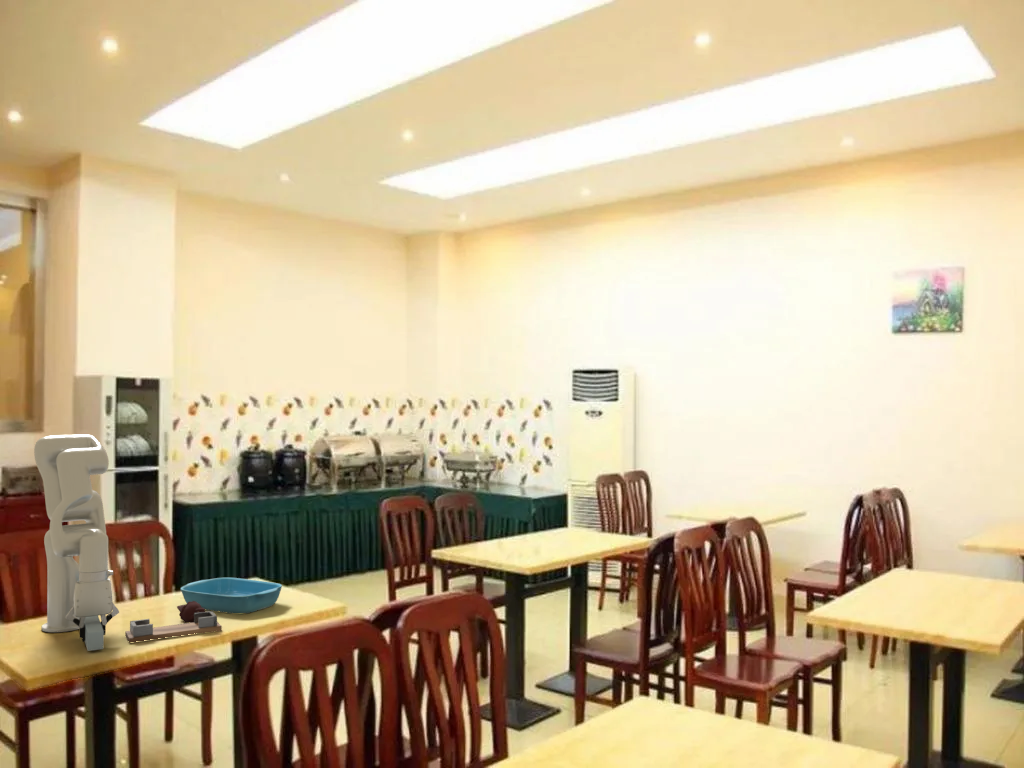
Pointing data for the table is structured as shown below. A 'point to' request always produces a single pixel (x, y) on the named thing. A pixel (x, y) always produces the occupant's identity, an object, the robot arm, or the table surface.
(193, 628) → the board
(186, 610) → the icecream
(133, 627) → the end caps
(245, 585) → the casserole dish
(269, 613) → the table surface
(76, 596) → the robot arm
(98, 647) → the slat
